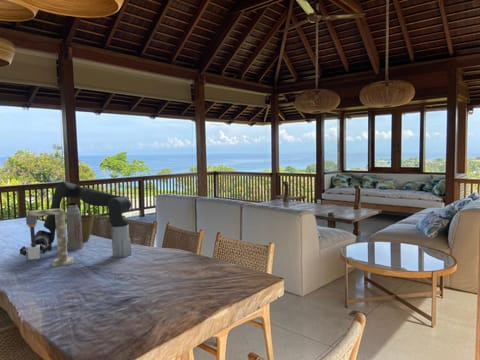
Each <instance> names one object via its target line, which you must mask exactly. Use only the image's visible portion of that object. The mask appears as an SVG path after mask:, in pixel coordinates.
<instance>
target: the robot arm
mask: <svg viewBox="0 0 480 360" xmlns="http://www.w3.org/2000/svg"><path fill="white" fill-rule="evenodd" d="M63 198H67V199H76V200H81V202H82V203H85V204H88V205H90V206H95V207H107V211H108V220H109V222H110V227H111V228H110V229H111V230H110V231H111V244H112V245H111V247H112V248H111V249H112V257H113V258H126V257H129V256H130V255H132V242H131V241H132V240H131V238H130V231H129V230H130V227H129V220H128V219H127V218H124V217H123V213H126V212H128V211H129V210H130V209H131V207H132V202H131V200H130V199H129V198H128V197H127V196H124V195H117V194H111V193H108V192H105V191H102V190H98V189H94V188H88V187H82V186H80V185H78V184H75V183H74V182H73V183H72V182H68V181H60V182H58V183H57V185H56V187H55V189H54V193H53V196H52V199H51V204H50V208H49V209H61V202H62V200H63ZM43 227H44V228H45V229H47V230H48V231H46V230H43V229H40V230H38V231H36V232H35V243H36V245H40V254H41V253H42V254H45V253H46V252H51V251H52V249H53V247H52V246H53V245H52V244H53V243H54V241H55V239H56V238H55V237H56V222H55V215H46V218H45V220H44V223H43ZM29 246H32V245H31V244H30V245H29ZM29 246H27V247H26V246H22V247H21V248H20V249H19V254H20V255H22V256H26V255H28V247H29Z"/></svg>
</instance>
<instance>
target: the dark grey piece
mask: <svg viewBox="0 0 480 360" xmlns="http://www.w3.org/2000/svg"><path fill="white" fill-rule="evenodd" d="M25 221H26V222H25V223H26V225H27V226H28V228H29V232H30V245H32V247H36V243H35V235H36V231H35V230H36V229H35V227H36V226H37V224H38V216H29V217H28V215H27V216H26V217H25ZM39 259H40V257H39V258H38V259H30V262H31V263H37V262H39Z"/></svg>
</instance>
